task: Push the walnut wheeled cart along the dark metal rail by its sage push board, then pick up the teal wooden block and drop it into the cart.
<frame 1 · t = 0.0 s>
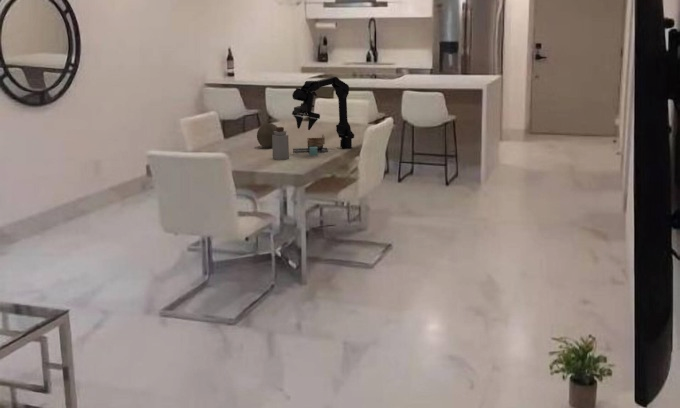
hand: (303, 129, 437), 15 cm above the table, tool pointing down, fingers open, 9 cm apart
cantaloupe: (268, 147, 469), on the table
perfume bottle: (280, 158, 432), on the table
cart: (315, 142, 454), point 5 cm above the table, slide at 0.0 cm
block: (313, 155, 442), on the table
rail: (310, 151, 455), on the table
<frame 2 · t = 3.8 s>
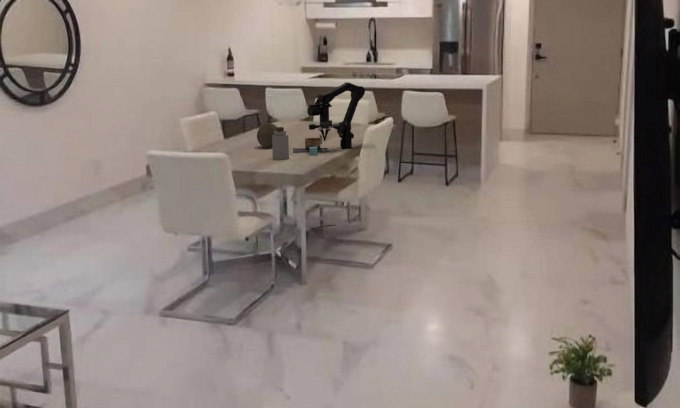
hand: (324, 140, 454), 6 cm above the table, tool pointing down, fingers closed
cart: (313, 142, 453), point 5 cm above the table, slide at 1.5 cm, touching gripper
everything else where it was.
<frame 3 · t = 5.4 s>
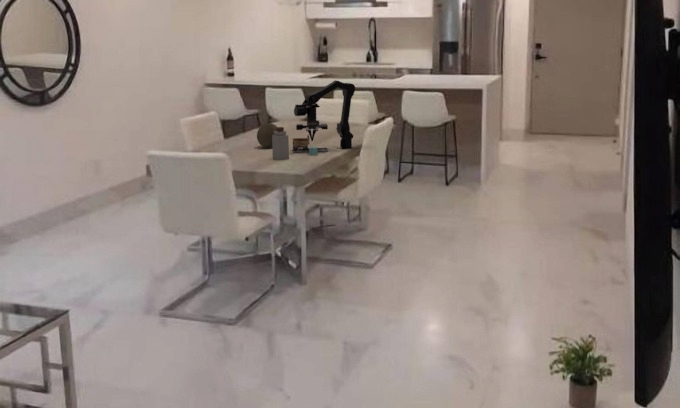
hand: (312, 141, 453), 6 cm above the table, tool pointing down, fingers closed
cart: (301, 142, 453), point 5 cm above the table, slide at 9.0 cm, touching gripper
everything else where it was.
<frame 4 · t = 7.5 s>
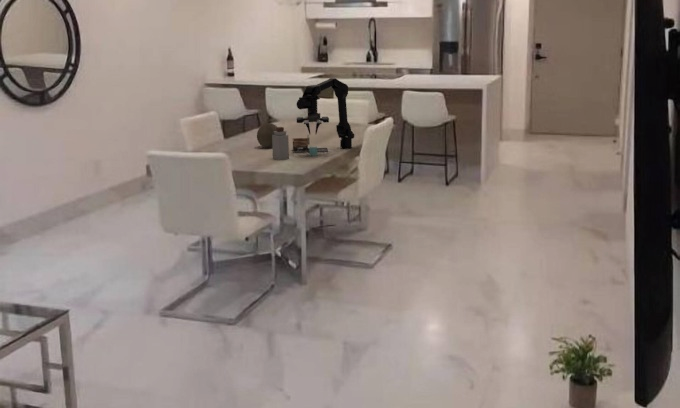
hand: (312, 134, 439), 12 cm above the table, tool pointing down, fingers open, 3 cm apart
cart: (301, 142, 453), point 5 cm above the table, slide at 9.0 cm
everything else where it was.
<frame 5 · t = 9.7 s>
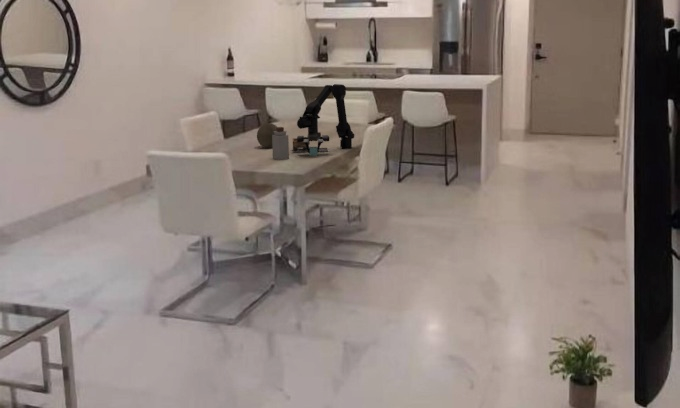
hand: (313, 153, 442), 1 cm above the table, tool pointing down, fingers closed on block, 4 cm apart
block: (313, 154, 442), on the table, touching gripper
everything else where it was.
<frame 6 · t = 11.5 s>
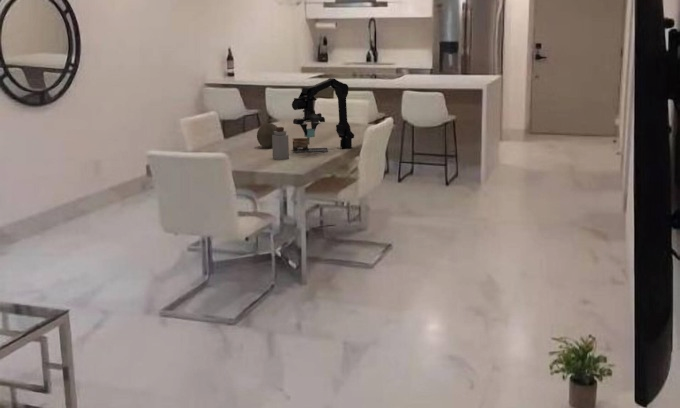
hand: (309, 135, 443), 11 cm above the table, tool pointing down, fingers closed on block, 4 cm apart
block: (309, 136, 443), point 10 cm above the table, touching gripper
everything else where it was.
when the fingers open (7 cm above the table, at t = 13.2 s): block drops 1 cm, resting on cart.
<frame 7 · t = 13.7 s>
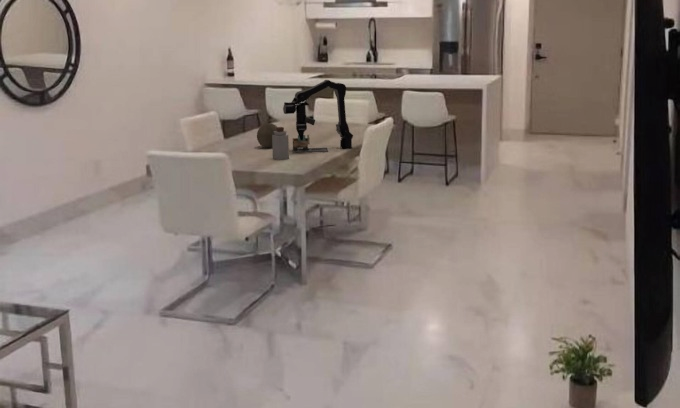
hand: (301, 138, 452), 7 cm above the table, tool pointing down, fingers open, 9 cm apart
cart: (301, 142, 453), point 5 cm above the table, slide at 9.0 cm, touching block
block: (301, 143, 453), point 5 cm above the table, touching cart
everything else where it was.
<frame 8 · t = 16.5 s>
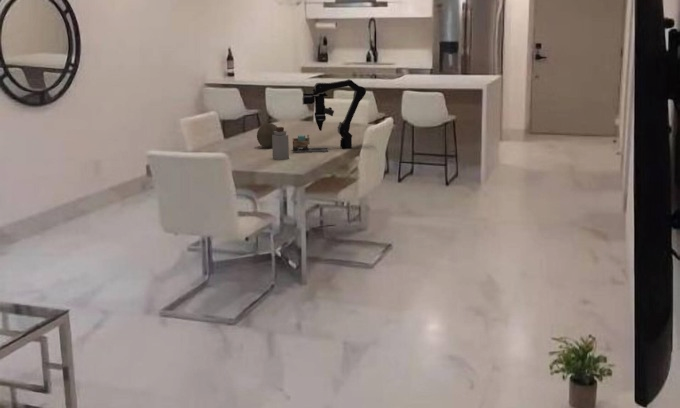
hand: (320, 129, 458), 12 cm above the table, tool pointing down, fingers open, 9 cm apart
nothing on the table moved.
at the end: cart slide at 9.0 cm; block inside the target area on the cart (0.7 cm from its centre), point 5.0 cm above the cart's base; the gripper is holding nothing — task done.
